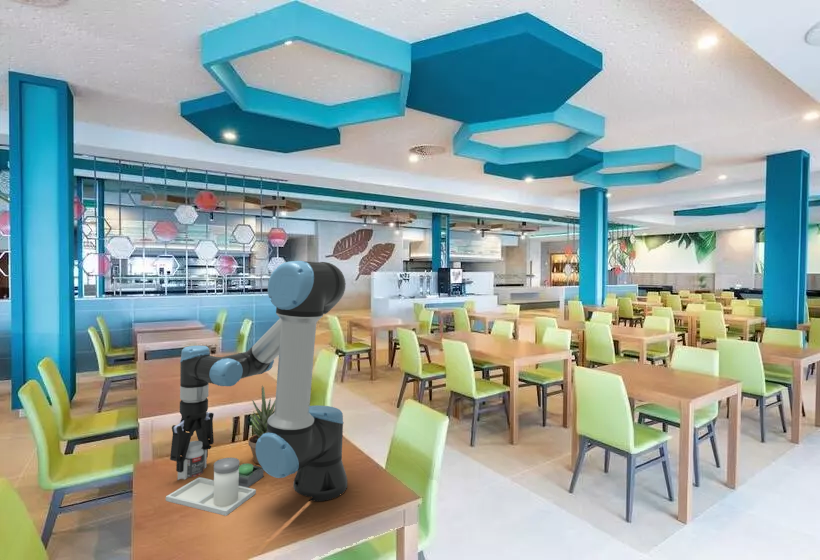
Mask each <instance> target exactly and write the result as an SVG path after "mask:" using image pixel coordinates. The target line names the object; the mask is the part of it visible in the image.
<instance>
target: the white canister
mask: <svg viewBox="0 0 820 560" xmlns="http://www.w3.org/2000/svg"><path fill="white" fill-rule="evenodd" d="M239 466H240V460H239V458H236V457H224V458H223V457H222V458H220V459H217V460H216V461H215V462H214V463H213V480H214V499H213V503H214V505H216V506H220V507H223V506H229V505H232V504H234V503H235V502H237V500H238V486H239Z"/></svg>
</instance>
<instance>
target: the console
mask: <svg viewBox="0 0 820 560" xmlns="http://www.w3.org/2000/svg"><path fill="white" fill-rule="evenodd" d="M252 465H253V472H252V473H251V474H249V475H248V476H246V475H241V474H239V486H242V487H247V488H251V486H253V485H254V484H255V483H256V482H258V481H260V480H261V479H262V478H263V477H264V472H265V471H264V470H263V468H262V466H258V465H254V464H252Z"/></svg>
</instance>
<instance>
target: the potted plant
mask: <svg viewBox="0 0 820 560" xmlns="http://www.w3.org/2000/svg"><path fill="white" fill-rule="evenodd" d="M271 398H272V397H269V401H268V404H267V402H266V391H265V386H263V385H262V386H261V410H260V408H259V407H258V406H257V404H256V403H255V401H254V400H253V399H252V400H251V401H252V404H253V407H254V408H255V410H256V412H257V414H256V412H254V411H253V416H254V417H255V418H254V417H253V416H252V415H251V414H250V419H251V420H252V422H253V423H254V424H255V426H254V425H252V428H253V433H254V435H251V436H250V437H248V440H247V442H248V446H249V447H250V450H251V451H250V452H251V454H252V459H253V462H254V463H255V464H258V465H260V464H259V462H258V460H257V457H256V450H255V449H256V443H257V440H258V439H259V438H260V437H261V436H262V435H263V434H264V433H267V422H268V418H269V417H270V416H271V415H272V414H273V413H274V412H275V400H276V398H275V399H274V402H273V404H271Z"/></svg>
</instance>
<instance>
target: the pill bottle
mask: <svg viewBox="0 0 820 560" xmlns="http://www.w3.org/2000/svg"><path fill="white" fill-rule="evenodd" d="M202 446H203V445H202V442H201V441H198V440H190V443H189V447H188V450H187V454H186V458H185V459H187V460H188V461H187V478H195V477H199V476H200V475H202V474H203V473H204V470H205V468H204V451H203V449H201V448H202Z"/></svg>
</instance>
